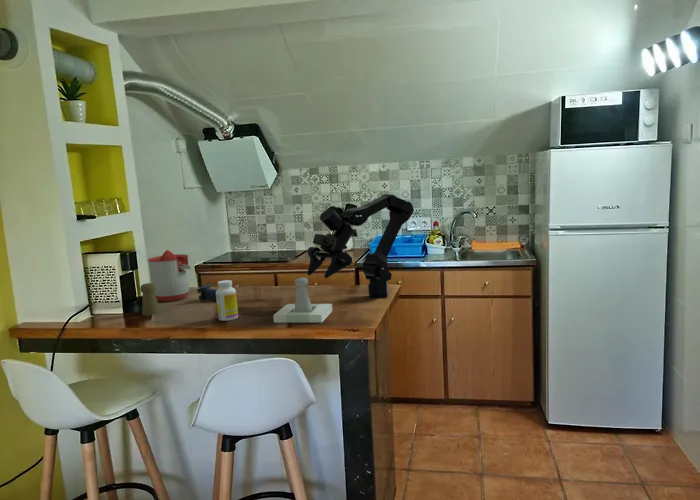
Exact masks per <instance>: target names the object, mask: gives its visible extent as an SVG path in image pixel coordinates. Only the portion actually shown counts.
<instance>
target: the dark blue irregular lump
mask: <svg viewBox="0 0 700 500" xmlns="http://www.w3.org/2000/svg"><path fill="white" fill-rule="evenodd" d="M211 287H212V284H211V282H207V283H206V284H205V285H202V286H201V285H199V286H198V288H197V289H196V291H197V294H199V295H198V300H199V303H203V302H206V301H209V300H211V301H215V302H217V301H216V291H217V290H218V289H219V288H211Z"/></svg>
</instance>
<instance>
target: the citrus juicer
mask: <svg viewBox="0 0 700 500" xmlns="http://www.w3.org/2000/svg"><path fill="white" fill-rule="evenodd" d="M147 262H148V268H149V269H148V271H149V278H150V283H153V284H154V285H155V287H156V289H155V296H156V300H157V301H159V302H176V301H178V300H182V299H185V298H187V297H188V295H189V292H190V283H191V278H190V271H191V270H192V267H191V266H190V265H189V255H188V254H174V253H173V252H171V251H170V250H168V249H166V250H165V251H164V252H163V254H162V255H159V256H153V257H150V258H148V259H147Z"/></svg>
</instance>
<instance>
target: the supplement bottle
mask: <svg viewBox="0 0 700 500" xmlns="http://www.w3.org/2000/svg"><path fill="white" fill-rule="evenodd" d="M217 287H218V288H217V289H218V290H217V291H216V301H215V302H216V308H217V318H218V320H219V321H224V322H227V321H229V322H230V321H234V320H236V319H238V317H239V310H238V301H237V290H236V289H235V288H234V287H233V280H229V279H225V280H219V281H217Z"/></svg>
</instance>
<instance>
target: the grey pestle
mask: <svg viewBox="0 0 700 500" xmlns="http://www.w3.org/2000/svg"><path fill="white" fill-rule="evenodd" d="M308 284H309V279H308V278H307V277H298V278H296V279H294V285H295V286H296V292H295V293H296V294H295V302H294V304H295V312H312V306H311V304H312V303H311V299H310V295H309V293H308V292H309V291H308V288H307V286H308Z"/></svg>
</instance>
